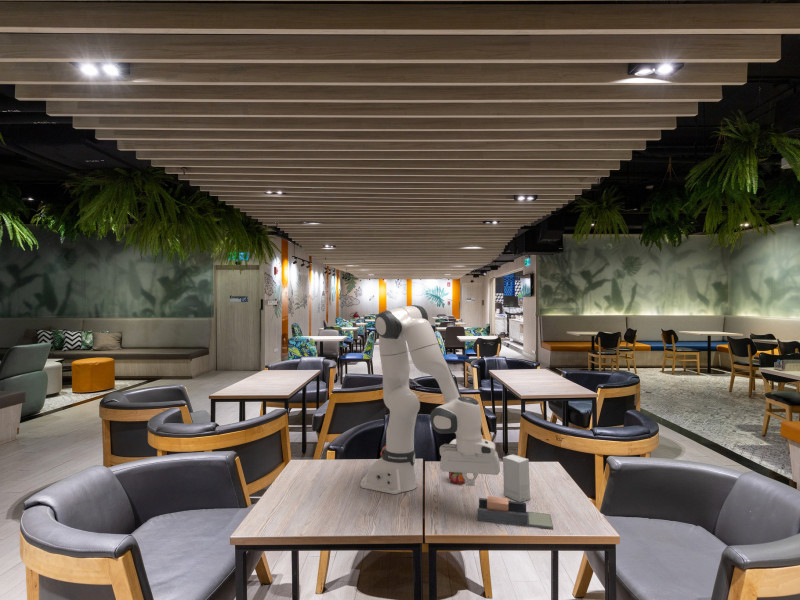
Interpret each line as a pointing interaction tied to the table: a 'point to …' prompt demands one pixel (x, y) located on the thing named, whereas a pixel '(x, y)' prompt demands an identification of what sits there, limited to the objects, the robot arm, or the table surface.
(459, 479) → the smoothie
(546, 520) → the chute
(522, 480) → the skincare box
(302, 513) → the table surface
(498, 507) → the block
